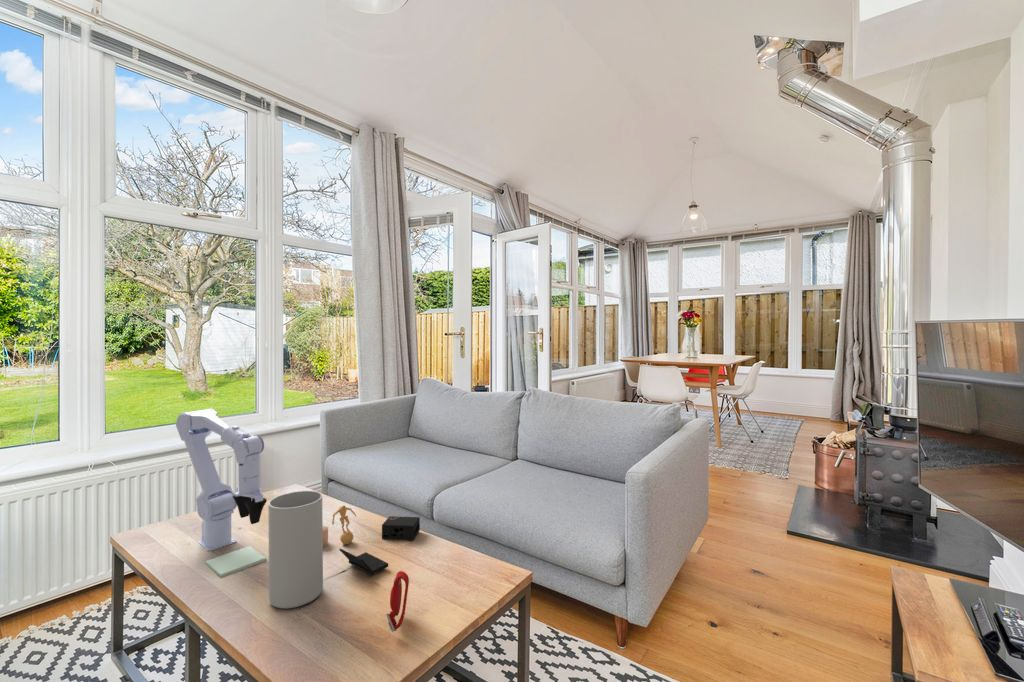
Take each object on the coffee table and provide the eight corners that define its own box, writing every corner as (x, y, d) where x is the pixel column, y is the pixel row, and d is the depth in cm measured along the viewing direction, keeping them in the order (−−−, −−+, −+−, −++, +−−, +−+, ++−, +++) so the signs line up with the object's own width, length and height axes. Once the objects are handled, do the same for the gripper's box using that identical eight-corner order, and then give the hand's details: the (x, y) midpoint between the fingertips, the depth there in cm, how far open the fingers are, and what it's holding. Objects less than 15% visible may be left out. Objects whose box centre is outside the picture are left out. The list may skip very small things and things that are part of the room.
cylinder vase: (287, 616, 106) (286, 512, 106) (259, 600, 113) (258, 502, 112) (333, 590, 117) (332, 496, 116) (304, 577, 123) (303, 487, 123)
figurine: (338, 550, 139) (337, 512, 139) (328, 544, 143) (328, 507, 143) (361, 540, 145) (361, 504, 145) (351, 535, 149) (351, 500, 149)
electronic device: (413, 541, 146) (413, 525, 146) (381, 540, 146) (381, 524, 146) (419, 531, 153) (419, 516, 153) (389, 530, 154) (389, 515, 154)
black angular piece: (393, 557, 130) (375, 538, 125) (380, 582, 125) (361, 563, 120) (364, 553, 135) (346, 535, 130) (351, 577, 130) (332, 558, 125)
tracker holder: (393, 605, 110) (393, 565, 110) (411, 604, 111) (411, 564, 111) (383, 637, 98) (383, 593, 98) (404, 636, 99) (403, 592, 99)
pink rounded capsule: (308, 545, 142) (308, 529, 142) (324, 540, 146) (324, 525, 146) (314, 550, 139) (314, 534, 139) (330, 545, 142) (330, 529, 142)
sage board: (205, 564, 130) (205, 561, 130) (249, 549, 140) (249, 546, 140) (220, 578, 123) (220, 574, 123) (266, 560, 132) (266, 557, 132)
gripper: (225, 474, 138) (226, 518, 138) (244, 484, 129) (245, 530, 130) (250, 469, 144) (250, 511, 144) (270, 478, 135) (270, 522, 135)
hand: (249, 519), depth 137 cm, fingers open, 7 cm apart
